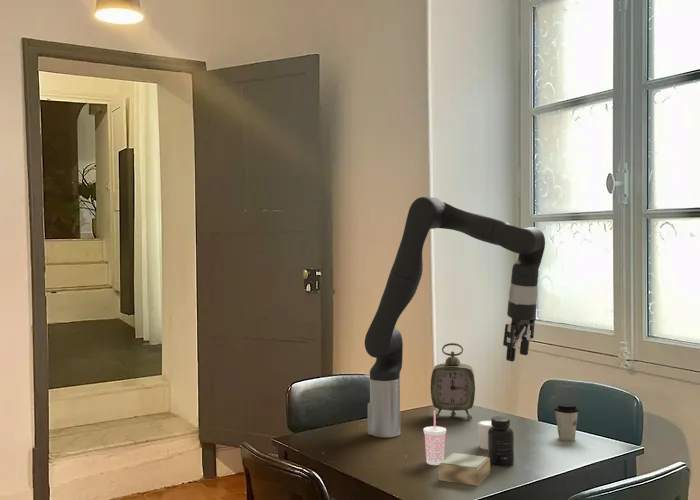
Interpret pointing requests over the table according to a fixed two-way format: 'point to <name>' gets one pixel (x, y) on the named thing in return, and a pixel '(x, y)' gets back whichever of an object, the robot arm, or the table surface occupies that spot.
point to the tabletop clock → (453, 385)
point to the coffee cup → (566, 421)
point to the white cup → (484, 433)
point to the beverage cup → (434, 443)
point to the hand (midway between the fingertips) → (517, 357)
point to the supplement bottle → (500, 442)
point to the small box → (464, 469)
